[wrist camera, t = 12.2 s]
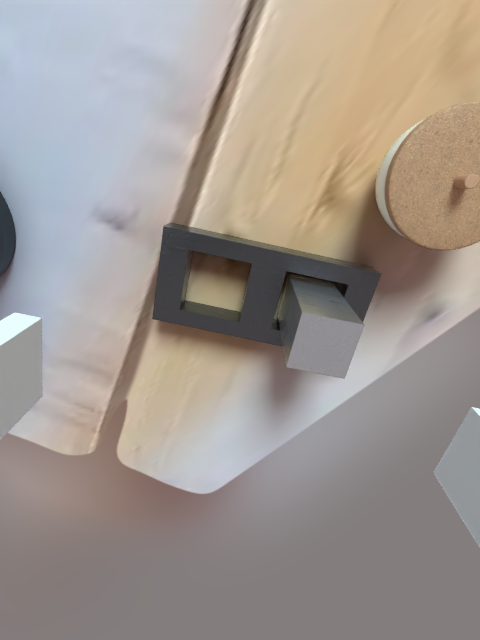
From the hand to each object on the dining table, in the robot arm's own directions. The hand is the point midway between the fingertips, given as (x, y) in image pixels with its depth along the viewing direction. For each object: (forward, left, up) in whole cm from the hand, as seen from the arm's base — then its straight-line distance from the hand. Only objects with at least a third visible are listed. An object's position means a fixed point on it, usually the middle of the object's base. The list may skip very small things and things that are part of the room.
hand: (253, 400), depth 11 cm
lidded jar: (+14, +9, -28) cm, 33 cm away
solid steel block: (+7, -5, -28) cm, 29 cm away
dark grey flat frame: (+2, -5, -28) cm, 29 cm away
